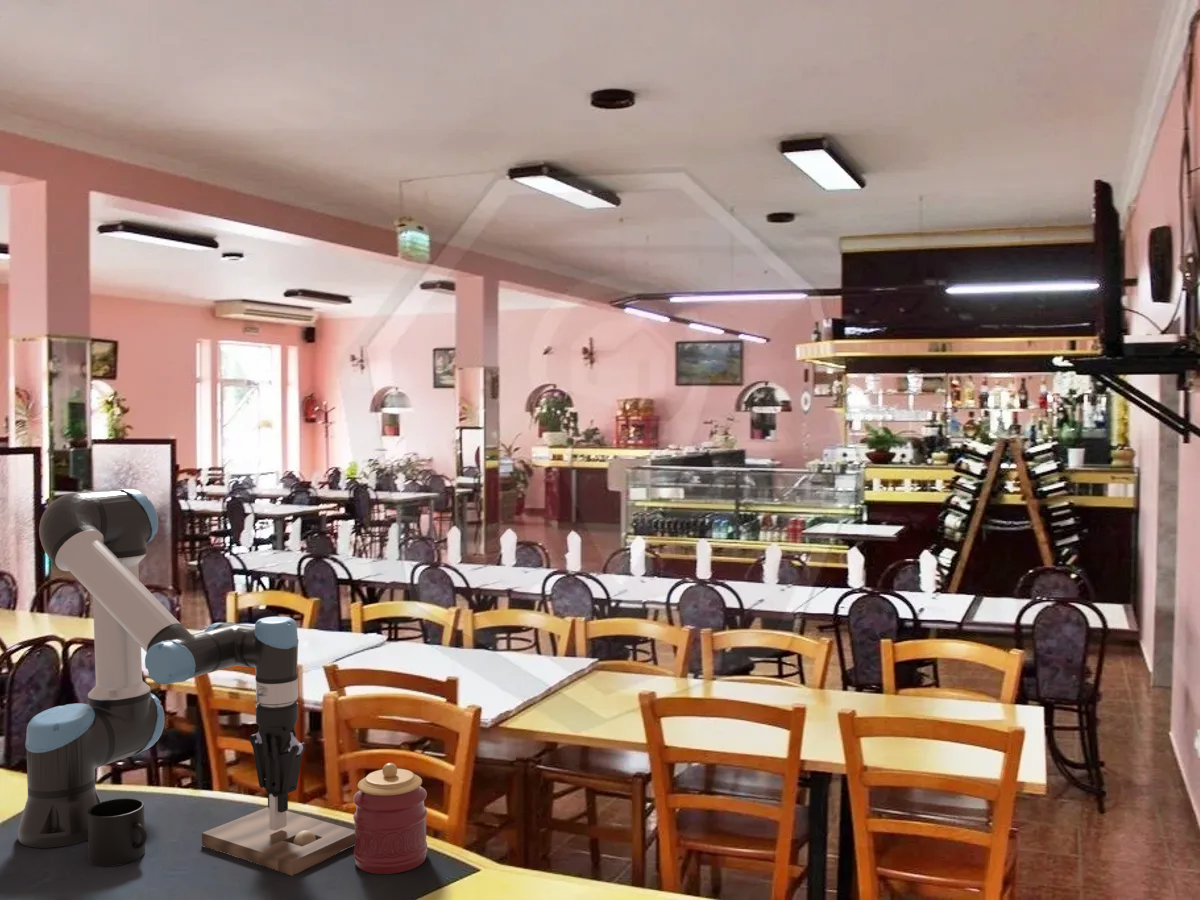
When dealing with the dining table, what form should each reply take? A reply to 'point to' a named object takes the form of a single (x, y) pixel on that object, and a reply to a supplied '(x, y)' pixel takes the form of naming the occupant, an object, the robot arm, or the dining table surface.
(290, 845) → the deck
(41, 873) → the dining table surface
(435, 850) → the dining table surface
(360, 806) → the canister
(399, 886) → the dining table surface
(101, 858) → the mug
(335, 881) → the dining table surface
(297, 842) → the ball
